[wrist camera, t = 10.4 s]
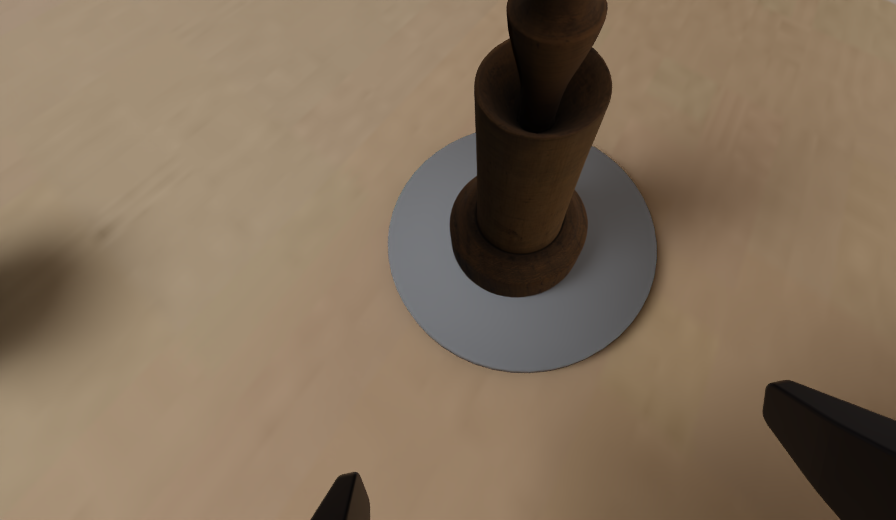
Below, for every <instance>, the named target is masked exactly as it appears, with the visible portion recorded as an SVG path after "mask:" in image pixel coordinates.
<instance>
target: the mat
mask: <svg viewBox="0 0 896 520" xmlns="http://www.w3.org/2000/svg"><path fill="white" fill-rule="evenodd" d="M476 176H477V161H476V133H473V134H471V135H468V136H465V137H462V138H460V139H458V140H456V141H454V142H452V143H450V144H448V145H447V146H445V147H444V148H442V149H441V150H439V151H438V152H436V153H435V154H434V155H432V156H431V157H430V158H429V159H428V160H426V161H425V162H424V163H423V164H422V165H421V166H420V167H419V168H418V170H417V171H416V172H415V173H414V174H413V175H412V177H411V178H410V180H409V181H408V182H407V184H406V185H405V187H404V189H403V190H402V192H401V194H400V196H399V198H398V200H397V203H396V205H395V208H394V211H393V214H392V218H391V222H390V226H389V236H388V255H389V263H390V268H391V273H392V276H393V279H394V282H395V285H396V288H397V291H398V293H399V295H400V297H401V298H402V300H403V302H404V304H405V306H406V307H407V309H408V310H409V312H410V313H411V315H412V316H413V318H414V319H415V321H416V322H417V323H418V324H419V326H420V327H421V328H422V329H423V330H424V331H425V332H426V333H427V334H428V335H429V336H430V337H431V338H432V339H433V340H435V341H436V342H437V343H438V344H439V345H441V346H442V347H443V348H445V349H446V350H448V351H450V352H451V353H453V354H454V355H456V356H458V357H460V358H462V359H464V360H466V361H469V362H471V363H473V364H476V365H479V366H482V367H486V368H489V369H492V370H498V371H504V372H511V373H535V372H544V371H551V370H555V369H559V368H563V367H567V366H569V365H572V364H574V363H577V362H579V361H582V360H584V359H586V358H587V357H589V356H591V355H593V354H594V353H596V352H598V351H600V350H601V349H603V348H605V347H606V346H607V345H608V344H610V343H611V342H612V341H613V340H615V339H616V338H617V337H619V336H620V335H621V333H622V332H623V331H624V330H625V329H626V328H627V327H628V326H629V325H630V324H631V323H632V321H633V320H634V319H635V317H636V316H637V314H638V313H639V311H640V310H641V308H642V306H643V304H644V302H645V300H646V298H647V296H648V294H649V292H650V288H651V285H652V282H653V279H654V274H655V268H656V261H657V243H656V236H655V229H654V225H653V222H652V218H651V215H650V212H649V210H648V207H647V205H646V203H645V201H644V199H643V197H642V195H641V193H640V192H639V190H638V189H637V187H636V185H635V184H634V183H633V181H632V180H631V179H630V178H629V176H628V175H627V174H626V173H625V172H624V170H622V169H621V168H620V167H619V166H618V165H617V164H616V163H615V162H614V161H613V160H612V159H611V158H609V157H608V156H607V155H605V154H604V153H602V152H601V151H600V150H598V149H597V148H595V147H593V146H591V149H590V151H589V154H588V156H587V159H586V161H585V164H584V166H583V169H582V171H581V174H580V177H579V179H578V182H577V184H576V187H575V190H576V192H577V193H578V195H579V196H580V198H581V200H582V202H583V204H584V206H585V209H586V213H587V219H588V231H587V237H586V241H585V244H584V246H583V249H582V251H581V253H580V255H579V257H578V259H577V261H576V263H575V264H574V266H573V268H572V269H571V271H570V272H569V273H568V275H567V276H566V277H565V278H564V279H563V280H562V281H560V282H559V283H558V284H557V285H555V286H554V287H552V288H550V289H549V290H547V291H544V292H542V293H539V294H536V295H532V296H526V297H505V296H500V295H496V294H493V293H490V292H488V291H486V290H484V289H482V288H481V287H479V286H478V285H476V284H475V283H474V282H472V281H471V280H470V279H469V278H468V277H467V276H466V275H465V273H464V272H463V271H462V270H461V268H460V266H459V265H458V263H457V261H456V259H455V256H454V253H453V249H452V243H451V236H450V214H451V210H452V207H453V204H454V202H455V200H456V198H457V196H458V194H459V193H460V191H461V190H462V189H463V187H464V186H465V185H466V184H467V183H468V182H469V181H471V180H472V179H473V178H474V177H476Z"/></svg>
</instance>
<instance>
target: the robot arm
mask: <svg viewBox="0 0 896 520" xmlns="http://www.w3.org/2000/svg"><path fill="white" fill-rule="evenodd" d="M763 417H764V419H765V421H766V423H767V425H768V426H769V428H770V429H771V430H772V432H773V433H774V434H775V436H776V437H777V438H778V440H779V441H780V443H781V444H782V445H783V447H784V448H785V449H786V451H787V452H788V454H789V455H790V456H791V458H792V459H793V460H794V462H795V463H796V465H797V466H798V467H799V469H800V470H801V471H802V473H803V474H804V475H805V477H806V478H807V480H808V481H809V482H810V483H811V485H812V486H813V487H814V489H815V490H816V491H817V492H818V494H819V495H820V496H821V497H822V498H823V500H824V501H825V502H826V503H827V504H828V506H829V507H830V508H831V509H832V510H833V511H834V512H835V514H836V515H837V516H838V517H839V518H840V519H841V520H896V421H895V420H893V419H890V418H888V417H885V416H882V415H880V414H877V413H874V412H872V411H869V410H867V409H864V408H861V407H859V406H856V405H854V404H851V403H848V402H846V401H843V400H841V399H838V398H835V397H833V396H830V395H827V394H825V393H822V392H820V391H817V390H814V389H812V388H809V387H807V386H804V385H801V384H799V383H796V382H793V381H790V380H782V381H778V382H773V383H770V384H768V385H767V386H766V389H765V397H764V404H763ZM311 520H370V503H369V498H368V495H367V492H366V490H365V487H364V484H363V482H362V479H361V477H360V475H359V473H357V472H352V473H347V474H342V475H340V476H339V477H338V478H337V479H336V480H335V482H334V484H333V485H332V487H331V488H330V490H329V491H328V493H327V495H326V496H325V498H324V499H323V501H322V502H321V504H320V506H319V507H318V509H317V510H316V512H315V513H314V515H313V517H312V518H311Z"/></svg>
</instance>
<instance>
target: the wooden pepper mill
mask: <svg viewBox="0 0 896 520" xmlns="http://www.w3.org/2000/svg"><path fill="white" fill-rule="evenodd" d="M607 9H608V7H607V1H606V0H508V2H507V22H508V31H509V36H510V39H508V40H506V41H504V42H503V43H501V44H499V45H498V46H496V47H495V48H494V49H493V50H492V51H491V52H490V53H489V54H488V55H487V56H486V57H485V58H484V59H483V61H482V62H481V64H480V66H479V68H478V70H477V73H476V77H475V85H474V96H475V125H476V161H477V176H476V177H474V178H473V179H472V180H471V181H469V182H468V183H467V184H466V185H465V186H464V187H463V189H462V190H461V191H460V193H459V194H458V196H457V198H456V200H455V202H454V204H453V207H452V210H451V214H450V236H451V243H452V249H453V253H454V256H455V259H456V261H457V263H458V265H459V266H460V268H461V270H462V271H463V272H464V273H465V275H466V276H467V277H468V278H469V279H470V280H471V281H472V282H474V283H475V284H476V285H478V286H479V287H481V288H482V289H484V290H486V291H488V292H490V293H493V294H496V295H500V296H505V297H526V296H532V295H536V294H539V293H542V292H544V291H547V290H549V289H550V288H552V287H554V286H555V285H557V284H558V283H559V282H560V281H562V280H563V279H564V278H565V277H566V276H567V275H568V273H569V272H570V271H571V269H572V268H573V266H574V264H575V263H576V261H577V259H578V257H579V255H580V253H581V251H582V249H583V246H584V244H585V241H586V237H587V231H588V219H587V213H586V209H585V206H584V204H583V202H582V200H581V198H580V196H579V195H578V193H577V192H576V190H575V187H576V184H577V182H578V179H579V177H580V174H581V171H582V169H583V166H584V164H585V161H586V159H587V156H588V154H589V151H590V149H591V146H592V144H593V141H594V139H595V137H596V134H597V132H598V129H599V127H600V125H601V122H602V120H603V117H604V115H605V112H606V110H607V107H608V105H609V102H610V99H611V94H612V80H611V75H610V72H609V69H608V67H607V65H606V63H605V61H604V60H603V58H602V57H601V56H600V55H599V54H598V52H597V51H596V50H595V49H594V48H592V46H593V44H594V42H595V41H596V39H597V37H598V35H599V33H600V31H601V28H602V26H603V24H604V22H605V19H606V15H607Z"/></svg>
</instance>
